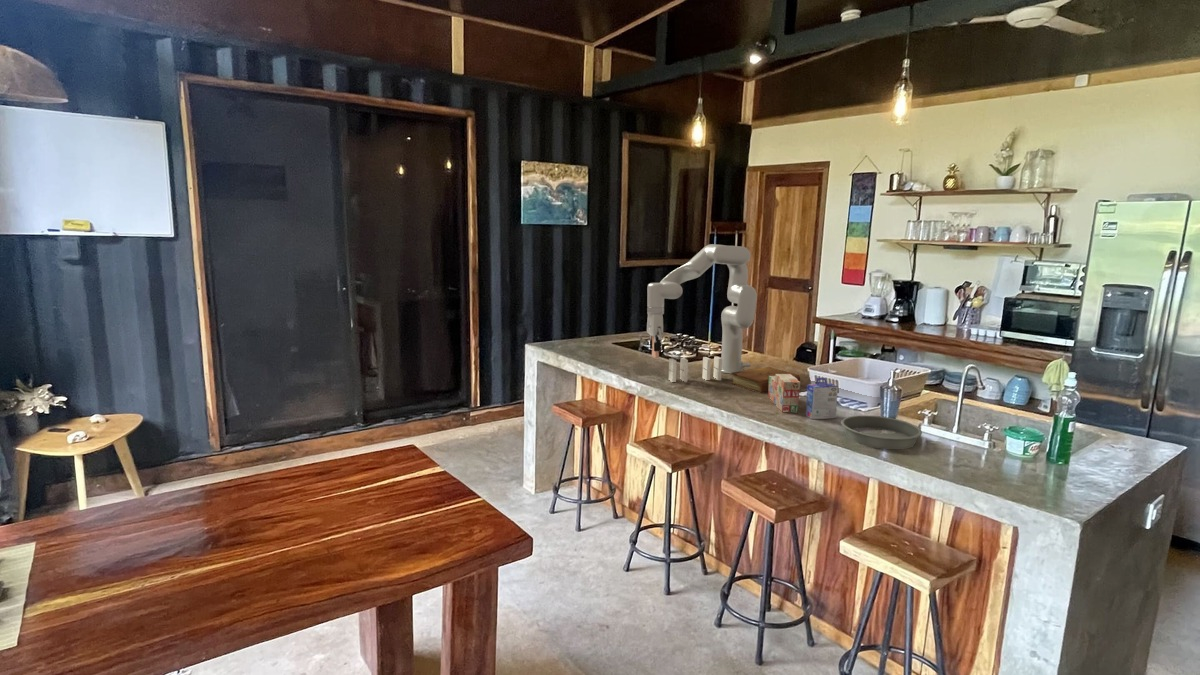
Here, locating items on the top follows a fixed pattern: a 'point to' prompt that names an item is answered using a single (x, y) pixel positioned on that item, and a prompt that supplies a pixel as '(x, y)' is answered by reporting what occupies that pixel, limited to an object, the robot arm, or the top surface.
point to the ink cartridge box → (821, 400)
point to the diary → (757, 378)
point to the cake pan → (898, 440)
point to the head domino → (672, 370)
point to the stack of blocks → (784, 392)
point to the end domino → (717, 367)
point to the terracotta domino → (654, 353)
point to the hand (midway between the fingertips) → (655, 349)
